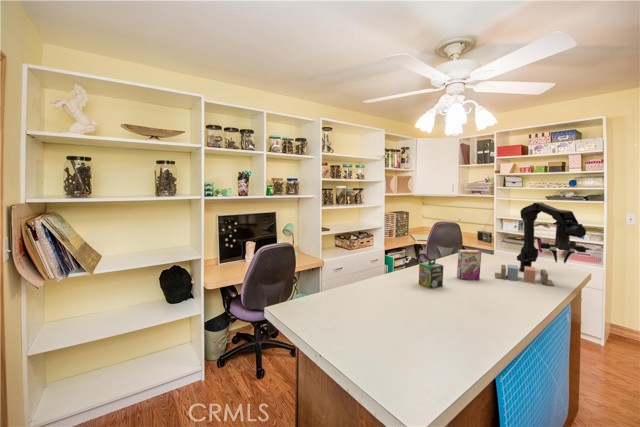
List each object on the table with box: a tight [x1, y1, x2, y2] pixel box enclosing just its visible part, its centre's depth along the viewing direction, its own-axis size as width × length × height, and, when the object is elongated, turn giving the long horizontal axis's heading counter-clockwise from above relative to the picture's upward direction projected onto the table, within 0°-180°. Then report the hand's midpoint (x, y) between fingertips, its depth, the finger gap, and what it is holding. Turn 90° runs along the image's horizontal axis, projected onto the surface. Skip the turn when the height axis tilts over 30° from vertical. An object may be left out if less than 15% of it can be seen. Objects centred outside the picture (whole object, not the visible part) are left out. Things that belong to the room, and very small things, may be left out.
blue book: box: [506, 264, 519, 282], centre depth 167 cm, size 8×4×7 cm, turn 149°
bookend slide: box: [539, 268, 555, 287], centre depth 159 cm, size 10×5×6 cm, turn 149°
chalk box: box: [418, 258, 444, 289], centre depth 157 cm, size 9×9×15 cm
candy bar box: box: [456, 249, 482, 281], centre depth 167 cm, size 11×5×16 cm, turn 84°
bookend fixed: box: [494, 264, 507, 280], centre depth 170 cm, size 10×5×6 cm, turn 149°
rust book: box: [523, 266, 537, 284], centre depth 163 cm, size 8×4×7 cm, turn 149°
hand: (560, 262), depth 156 cm, fingers open, 3 cm apart
